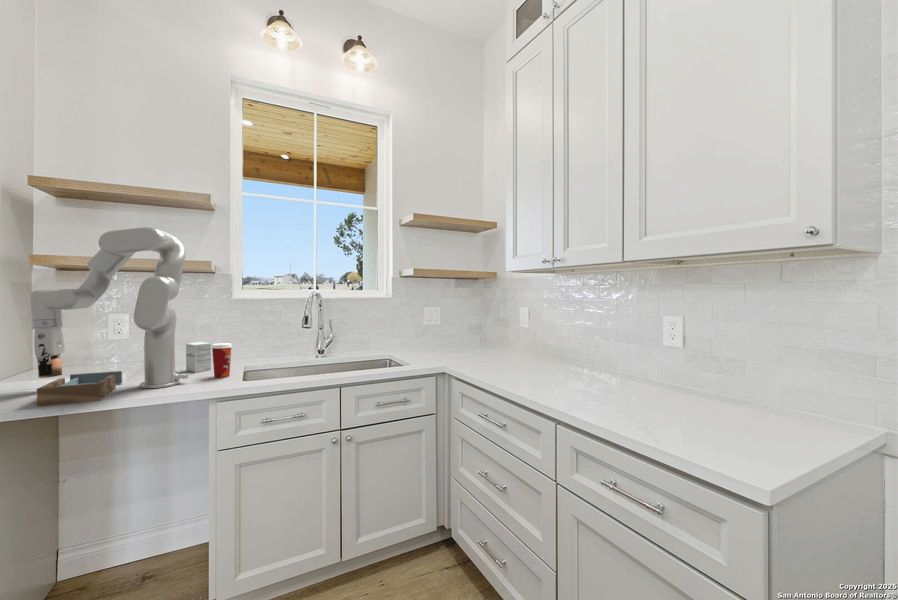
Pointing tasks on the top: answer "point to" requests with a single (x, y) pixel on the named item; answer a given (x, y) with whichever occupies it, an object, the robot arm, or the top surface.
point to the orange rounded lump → (54, 368)
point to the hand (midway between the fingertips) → (50, 373)
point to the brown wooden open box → (74, 392)
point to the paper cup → (221, 359)
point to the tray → (92, 378)
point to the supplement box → (198, 356)
